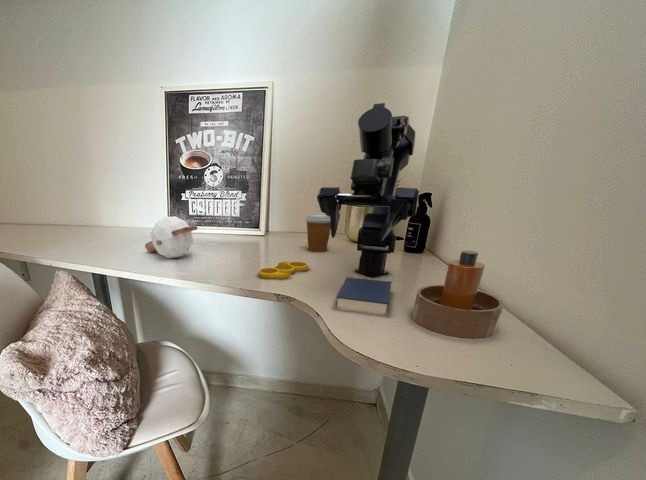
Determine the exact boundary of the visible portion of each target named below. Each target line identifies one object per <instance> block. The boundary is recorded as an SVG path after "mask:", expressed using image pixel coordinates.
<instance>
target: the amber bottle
mask: <svg viewBox="0 0 646 480" xmlns="http://www.w3.org/2000/svg"><path fill="white" fill-rule="evenodd" d="M478 256H479V252H478V251H474V250H462V251H460V257H459V259H453V260H449V262H448V266H447V270H446V274H445V279H444V282H443V285H444V287H443V291H442V295H441V299H440V305H444V306H448V307H452V308H459V309H465V310H473V307H474V303H475V299H476V296H477V292H478V290H479V288H480V285H481V281H482V279H483V275H484V271H485V267H486V266H485V264H484V263H483V262H482V263H481V262H479V261H477V259H478Z"/></svg>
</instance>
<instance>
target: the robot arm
mask: <svg viewBox="0 0 646 480" xmlns="http://www.w3.org/2000/svg"><path fill="white" fill-rule="evenodd" d="M357 126H358V135H359V136H358V137H359V144H360V151H361V153H363V155H362V158H359V159H354V160H353V162H352V166H351V173H350V180H351V184H350V190H351V191H352V193H341V189H340V187H339V186H322V187H320V188H319V190H318V192H317V195H316V199H317V202H318V206H319V209H320V212H321V213H322V214H326V215H327V216H330V223H331V230H330V234H331V238H336V234H337V231H338V227H339V222H340V218H341V213H340V211H341V210H342V206H343V205H344V206H361V207H370V208H371V207H372V211H371V212H367V213H366V214H365V215H364V218H363V221H362V224H361V227H359V229H358V231H357V243H356V244H357V245H356V251H359V252H360V251H361V253H360V257H359V263H358V268H355V269H354V271H355V272H356V273H360V274H362V275H365V276H368V277H371V278H373V277H378V276H384V275H388V274H389V273H390V271H388V270H386V263H387V256H388V255H389V254H391V253H395V249H396V239H397V235H396V234H395V230H394V228H395V227H396V226H397V225H398V224H400V223H401V221H406V220H408V218H413V217H415V216H416V214H417V210H418V205H419V196H420V190H419V189H418V188H417V187H397V186H398V181H399V178H400V177H399V176H400V174H401V171H402V170H403V169H404V168H405V167H406V166H408V165H409V162H410V158H411V156H413V155H414V151H415V145H416V131H415V129H414V128H413V127H412V126H411V124H410V116H406V115H395V116H393V114H392V112H391V110H390V109H389V108H387V107H386V103H385V102H381V103H374V104H373V106H372V108H370V109H368V110H366V111H365V112H364V113H362V114H361V115H360V117H358V120H357Z"/></svg>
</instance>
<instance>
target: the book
mask: <svg viewBox="0 0 646 480" xmlns="http://www.w3.org/2000/svg"><path fill="white" fill-rule="evenodd" d="M391 289H392V281H386V280H376V279H367V278H357V277H349V276H347V277H345V280H344V281H343V283H342V285H341V287H340V289H339V291H338V293H337V295H336V299H337V303H336V304H337V305H336V308H343V309H350V310H358V311H365V312H374V313H380V314H386V313H387V309H388V305H390V299H391V298H390V297H391Z"/></svg>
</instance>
